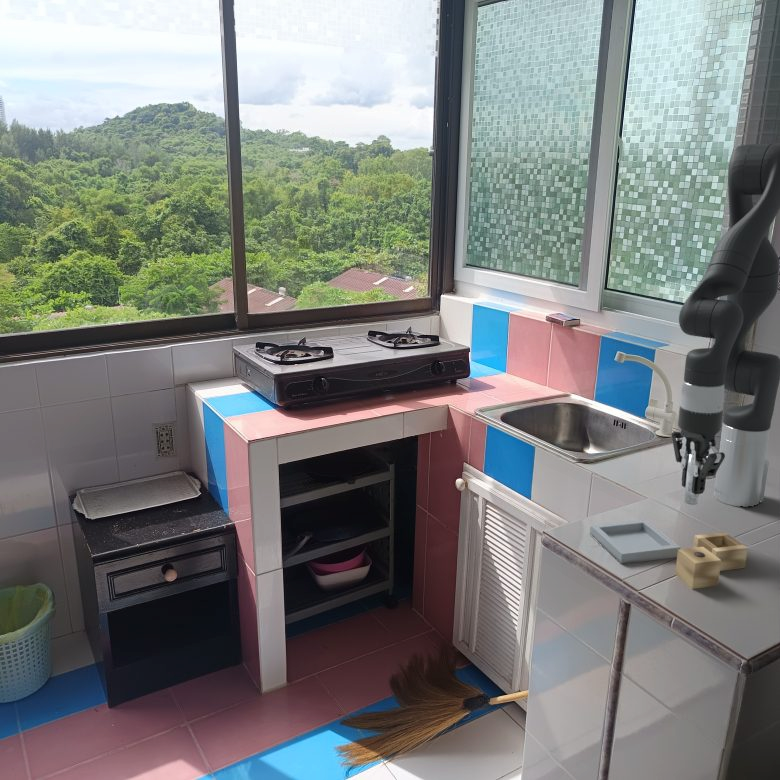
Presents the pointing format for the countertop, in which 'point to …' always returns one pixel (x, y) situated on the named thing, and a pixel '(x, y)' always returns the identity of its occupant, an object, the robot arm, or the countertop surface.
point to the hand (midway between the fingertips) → (692, 489)
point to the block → (698, 567)
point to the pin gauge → (690, 484)
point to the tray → (634, 541)
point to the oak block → (723, 549)
